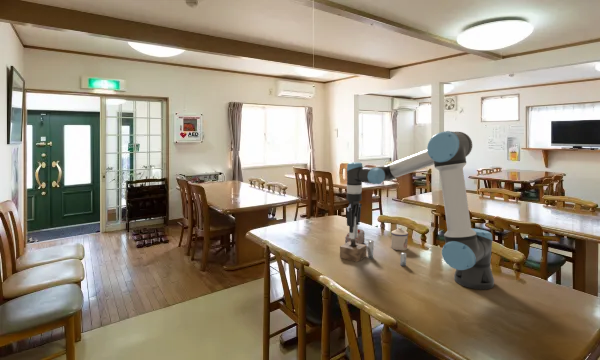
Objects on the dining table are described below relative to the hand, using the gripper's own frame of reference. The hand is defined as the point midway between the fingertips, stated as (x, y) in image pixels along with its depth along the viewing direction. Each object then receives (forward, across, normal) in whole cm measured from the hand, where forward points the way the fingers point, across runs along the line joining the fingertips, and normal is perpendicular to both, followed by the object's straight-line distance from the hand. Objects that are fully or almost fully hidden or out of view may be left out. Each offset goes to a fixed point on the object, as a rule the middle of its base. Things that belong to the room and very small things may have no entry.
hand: (353, 237), depth 173 cm
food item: (+11, -17, -8) cm, 22 cm away
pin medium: (+10, -4, +8) cm, 14 cm away
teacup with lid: (+11, -29, +14) cm, 34 cm away
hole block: (+10, 0, 0) cm, 10 cm away
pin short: (+10, -4, +25) cm, 27 cm away
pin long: (+4, 0, 0) cm, 4 cm away
